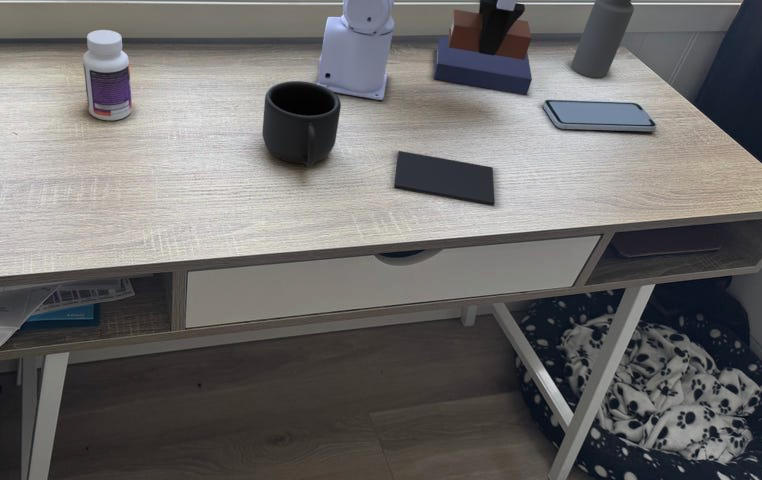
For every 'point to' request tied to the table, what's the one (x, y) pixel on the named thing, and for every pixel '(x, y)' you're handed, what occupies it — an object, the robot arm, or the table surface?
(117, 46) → the pill bottle
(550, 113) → the smartphone
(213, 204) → the table surface
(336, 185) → the table surface
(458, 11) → the block
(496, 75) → the hardcover book
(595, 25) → the bottle
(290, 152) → the mug
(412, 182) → the rubber mat
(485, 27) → the robot arm
